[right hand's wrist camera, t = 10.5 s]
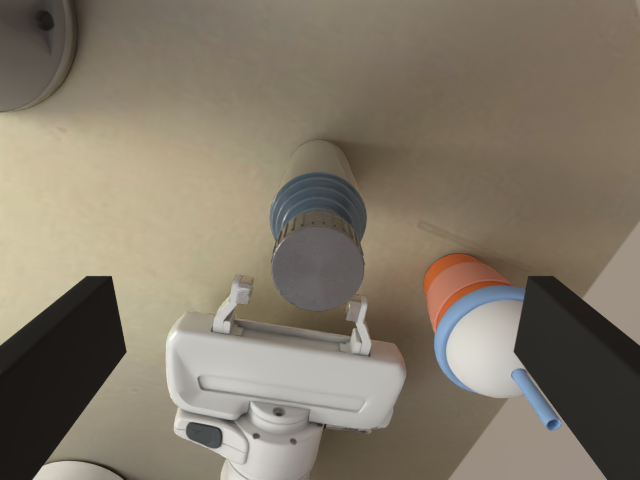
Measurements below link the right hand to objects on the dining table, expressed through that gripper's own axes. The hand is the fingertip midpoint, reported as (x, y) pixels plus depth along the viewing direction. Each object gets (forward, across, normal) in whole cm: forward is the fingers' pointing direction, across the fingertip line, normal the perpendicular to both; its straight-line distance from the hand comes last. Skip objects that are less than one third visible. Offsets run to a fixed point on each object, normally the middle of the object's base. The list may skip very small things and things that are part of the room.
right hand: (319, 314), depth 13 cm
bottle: (+25, 0, 0) cm, 25 cm away
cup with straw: (+25, -13, +11) cm, 30 cm away
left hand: (+19, +2, +9) cm, 21 cm away
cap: (+4, 0, 0) cm, 4 cm away
